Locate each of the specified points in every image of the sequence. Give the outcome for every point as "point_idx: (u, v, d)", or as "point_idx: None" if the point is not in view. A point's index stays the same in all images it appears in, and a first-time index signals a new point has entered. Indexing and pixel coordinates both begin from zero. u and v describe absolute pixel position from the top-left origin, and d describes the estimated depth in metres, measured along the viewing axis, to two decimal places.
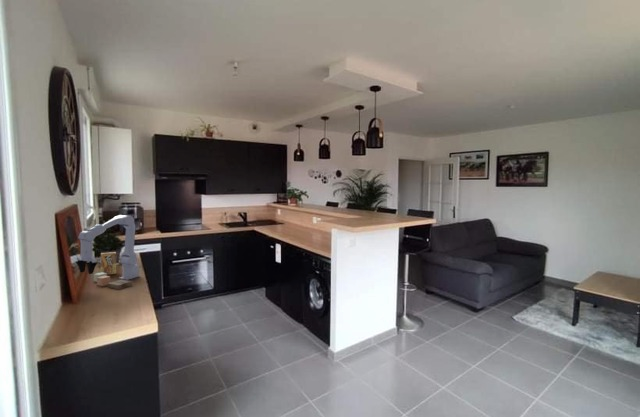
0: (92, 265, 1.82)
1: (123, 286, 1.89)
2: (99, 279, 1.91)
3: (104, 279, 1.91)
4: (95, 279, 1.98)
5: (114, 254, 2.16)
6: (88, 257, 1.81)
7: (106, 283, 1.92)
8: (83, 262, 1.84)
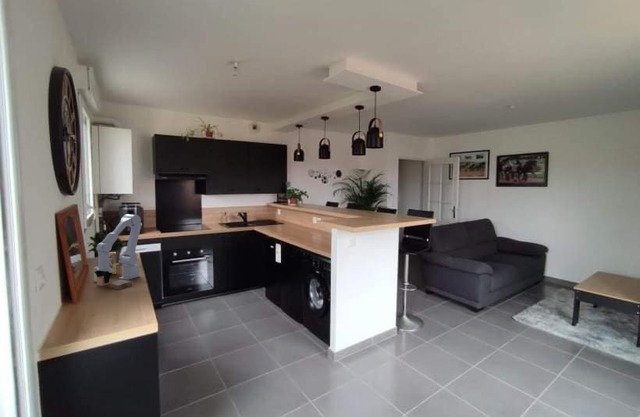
0: (108, 275, 1.92)
1: (123, 286, 1.89)
2: (99, 279, 1.91)
3: None
4: (95, 279, 1.98)
5: (114, 254, 2.16)
6: (105, 267, 1.91)
7: (106, 283, 1.92)
8: (101, 272, 1.94)
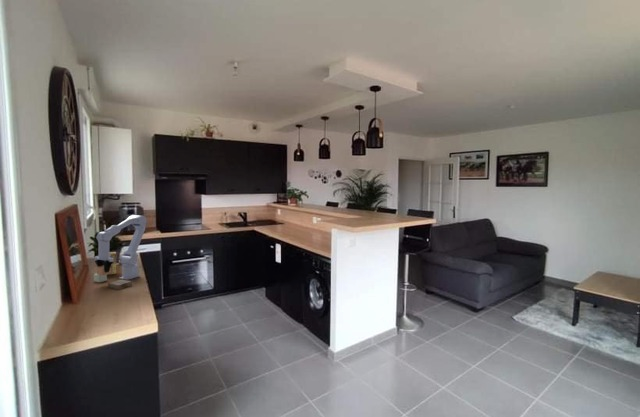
0: (108, 264, 1.92)
1: (123, 286, 1.89)
2: (99, 268, 1.90)
3: None
4: (95, 279, 1.98)
5: (114, 254, 2.16)
6: (105, 256, 1.91)
7: (106, 272, 1.92)
8: (101, 261, 1.94)
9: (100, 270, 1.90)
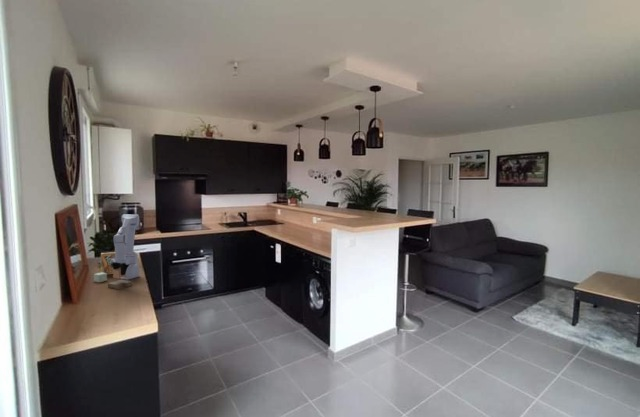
0: (124, 267, 1.90)
1: (123, 286, 1.89)
2: (115, 271, 1.88)
3: (120, 271, 1.88)
4: (95, 279, 1.98)
5: (114, 254, 2.16)
6: (122, 259, 1.89)
7: (122, 275, 1.90)
8: (117, 264, 1.92)
9: (116, 273, 1.88)
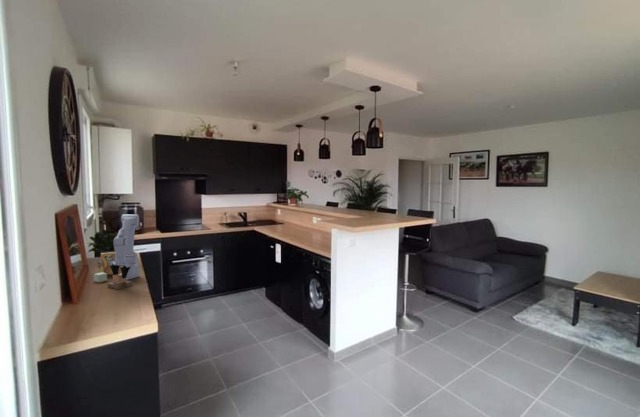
0: (125, 270, 1.90)
1: (123, 286, 1.89)
2: (115, 277, 1.88)
3: (120, 277, 1.88)
4: (95, 279, 1.98)
5: (114, 254, 2.16)
6: (122, 262, 1.89)
7: (122, 281, 1.90)
8: (116, 267, 1.92)
9: (116, 279, 1.88)
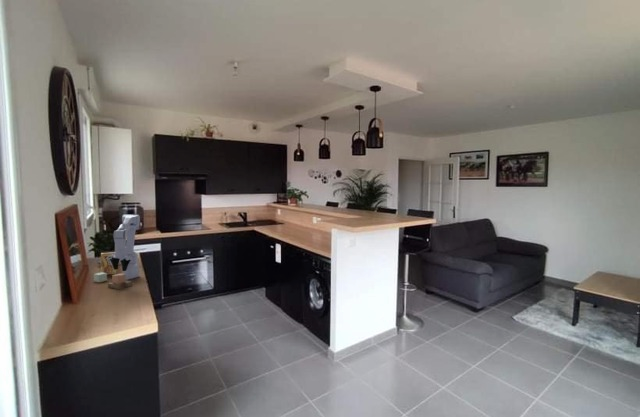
0: (125, 262, 1.90)
1: (123, 286, 1.89)
2: (114, 277, 1.88)
3: (119, 277, 1.88)
4: (95, 279, 1.98)
5: None
6: (122, 255, 1.89)
7: (121, 281, 1.90)
8: (116, 260, 1.92)
9: (115, 279, 1.88)
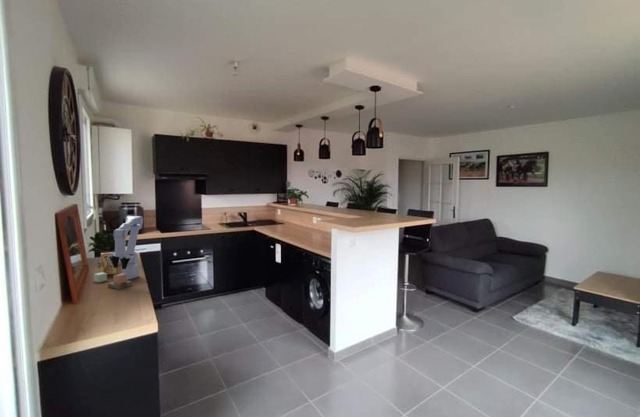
0: (125, 261, 1.93)
1: (123, 286, 1.89)
2: (115, 277, 1.88)
3: (120, 277, 1.89)
4: (95, 279, 1.98)
5: None
6: (122, 253, 1.92)
7: (122, 281, 1.90)
8: (116, 258, 1.96)
9: (116, 278, 1.88)
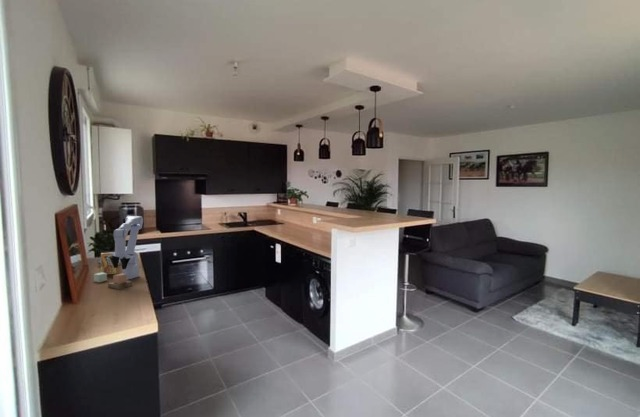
0: (125, 261, 1.93)
1: (123, 286, 1.89)
2: (115, 277, 1.88)
3: (120, 277, 1.89)
4: (95, 279, 1.98)
5: None
6: (122, 253, 1.92)
7: (122, 281, 1.90)
8: (116, 258, 1.96)
9: (116, 278, 1.88)
